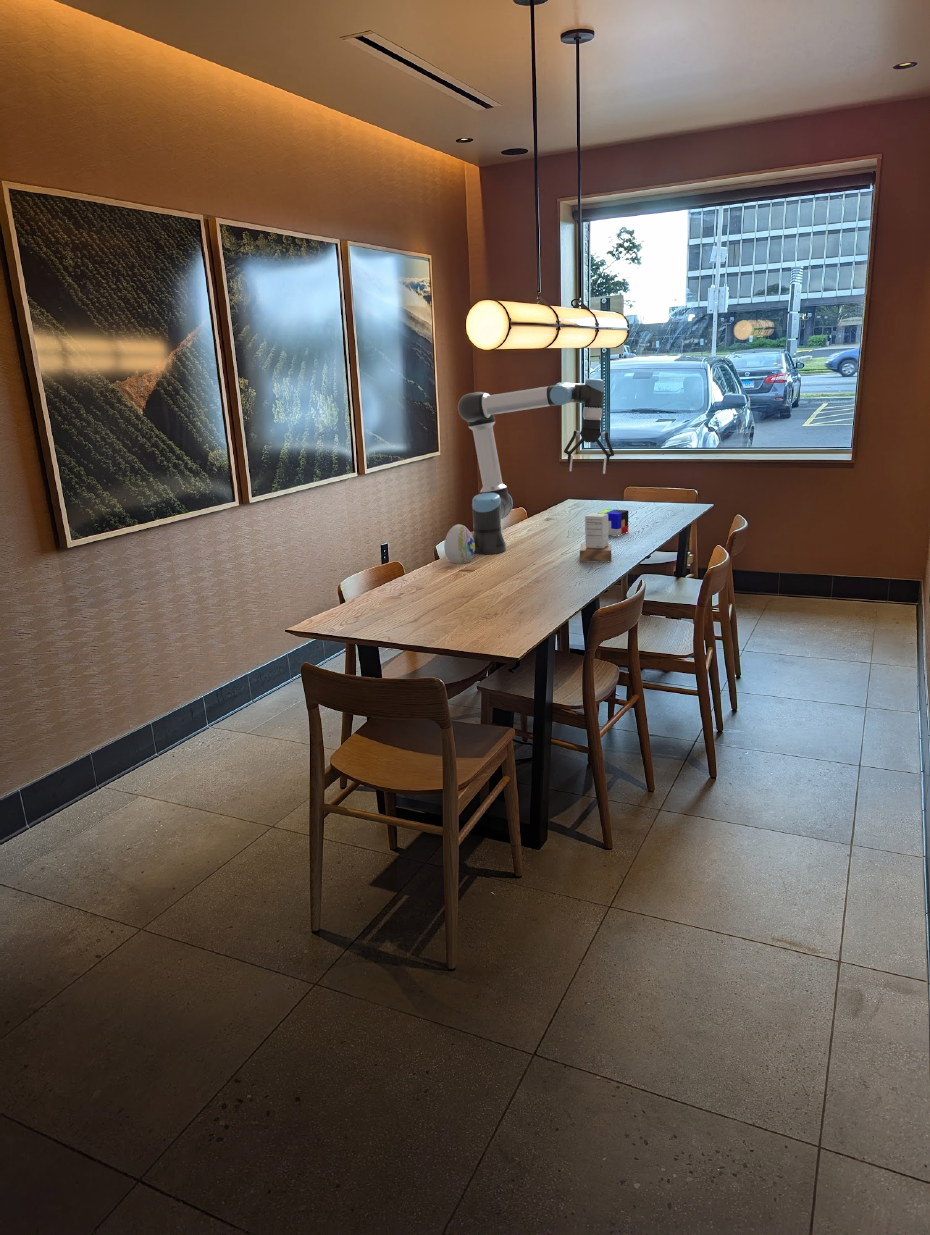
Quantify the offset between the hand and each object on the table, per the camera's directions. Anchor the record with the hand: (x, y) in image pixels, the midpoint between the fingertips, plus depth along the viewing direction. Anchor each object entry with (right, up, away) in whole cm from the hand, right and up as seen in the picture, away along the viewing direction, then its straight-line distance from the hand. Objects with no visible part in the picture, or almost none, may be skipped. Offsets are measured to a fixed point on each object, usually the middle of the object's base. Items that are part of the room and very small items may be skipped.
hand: (587, 472), depth 341 cm
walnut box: (+2, -36, -10) cm, 38 cm away
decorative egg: (-52, -37, -5) cm, 64 cm away
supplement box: (+2, -31, -11) cm, 33 cm away
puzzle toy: (+17, -22, +35) cm, 44 cm away
